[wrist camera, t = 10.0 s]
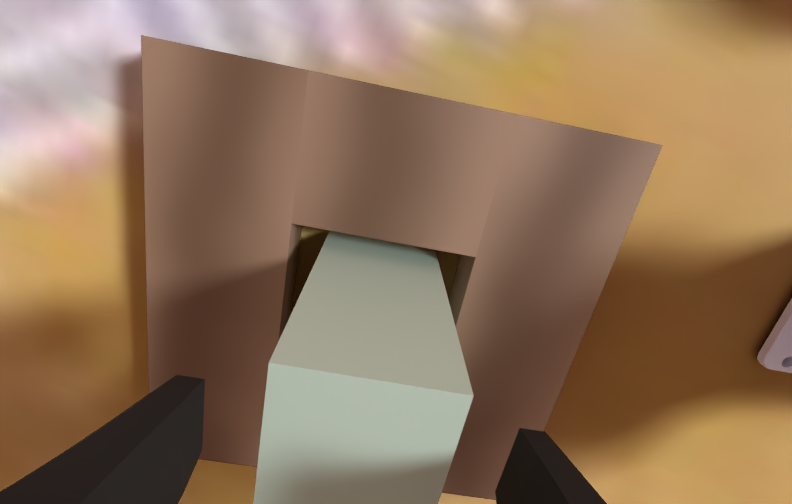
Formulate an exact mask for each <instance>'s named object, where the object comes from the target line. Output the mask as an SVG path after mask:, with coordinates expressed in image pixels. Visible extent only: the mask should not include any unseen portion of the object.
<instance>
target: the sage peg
mask: <svg viewBox="0 0 792 504" xmlns="http://www.w3.org/2000/svg"><path fill="white" fill-rule="evenodd" d="M473 397H474V395H473V391H472V387H471V384H470V380H469V376H468V372H467V368H466V365H465V361H464V357H463V353H462V350H461V346H460V342H459V338H458V334H457V331H456V327H455V323H454V319H453V315H452V312H451V308H450V304H449V300H448V296H447V293H446V289H445V285H444V281H443V277H442V274H441V270H440V266H439V262H438V259H437V255H436V251H435V250H430V249H425V248H420V247H414V246H409V245H404V244H399V243H393V242H388V241H383V240H377V239H372V238H367V237H361V236H356V235H351V234H345V233H340V232H335V231H329V233H328V236H327V238H326V240H325V242H324V244H323V246H322V249H321V251H320V253H319V255H318V257H317V259H316V261H315V264H314V266H313V268H312V270H311V272H310V274H309V277H308V279H307V281H306V283H305V285H304V287H303V290H302V292H301V294H300V296H299V298H298V300H297V303H296V305H295V307H294V309H293V311H292V313H291V316H290V318H289V320H288V322H287V324H286V326H285V329H284V331H283V333H282V335H281V337H280V339H279V341H278V344H277V346H276V348H275V350H274V352H273V354H272V357H271V359H270V361H269V365H268V374H267V383H266V392H265V401H264V410H263V419H262V428H261V437H260V447H259V456H258V465H257V474H256V483H255V492H254V501H253V504H438V502H439V499H440V496H441V493H442V490H443V487H444V484H445V481H446V478H447V475H448V472H449V469H450V466H451V463H452V460H453V457H454V454H455V451H456V448H457V445H458V442H459V439H460V436H461V433H462V430H463V427H464V424H465V421H466V418H467V415H468V412H469V409H470V406H471V403H472V400H473Z"/></svg>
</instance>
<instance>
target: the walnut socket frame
mask: <svg viewBox="0 0 792 504" xmlns="http://www.w3.org/2000/svg"><path fill="white" fill-rule="evenodd" d="M141 50H142V97H143V144H144V191H145V239H146V286H147V333H148V380H149V394H150V393H151V392H152V391H154V390H155V389H157V388H158V387H159V386H161V385H162V384H164V383H165V382H167V381H168V380H170V379H171V378H172V377H174V376H176V375H182V376H189V377H195V378H201V379H205V391H204V417H203V444H202V451H201V453H200V456H199V458H198V459H202V460H209V461H216V462H224V463H231V464H238V465H245V466H253V467H257V465H258V456H259V447H260V437H261V428H262V419H263V410H264V401H265V392H266V383H267V374H268V365H269V361H270V359H271V357H272V354H273V352H274V350H275V348H276V346H277V344H278V341H279V339H280V337H281V335H282V333H283V331H284V329H285V326H286V324H287V322H288V320H289V318H290V316H291V312H292V304H293V296H294V288H295V279H296V271H297V263H298V254H299V246H300V238H301V229H302V226H308V227H313V228H319V229H324V230H330V231H335V232H341V233H346V234H352V235H357V236H363V237H368V238H374V239H379V240H385V241H390V242H396V243H401V244H406V245H412V246H417V247H423V248H428V249H434V250H439V251H445V252H450V253H456V254H461V256H460V260H459V264H458V267H457V271H456V275H455V279H454V282H453V286H452V290H451V293H450V297H449V304H450V308H451V312H452V315H453V319H454V323H455V327H456V331H457V334H458V338H459V342H460V346H461V350H462V353H463V357H464V361H465V365H466V368H467V372H468V376H469V380H470V384H471V387H472V391H473V395H474V397H473V400H472V403H471V406H470V409H469V412H468V415H467V418H466V421H465V424H464V427H463V430H462V433H461V436H460V439H459V442H458V445H457V448H456V451H455V454H454V457H453V460H452V463H451V466H450V469H449V472H448V475H447V478H446V481H445V484H444V487H443V490H442V493H448V494H456V495H463V496H470V497H477V498H485V499H492V500H496V494H495V490H496V488H497V485H498V482H499V480H500V477H501V475H502V472H503V470H504V467H505V464H506V462H507V459H508V457H509V454H510V452H511V449H512V446H513V444H514V441H515V439H516V436H517V433H518V431H519V428H524V429H530V430H537V431H543V432H544V429H545V427H546V425H547V422H548V420H549V417H550V415H551V412H552V410H553V408H554V405H555V403H556V400H557V398H558V396H559V393H560V391H561V388H562V386H563V384H564V381H565V379H566V376H567V374H568V372H569V369H570V367H571V364H572V362H573V360H574V357H575V355H576V352H577V350H578V347H579V345H580V343H581V340H582V338H583V335H584V333H585V331H586V328H587V326H588V323H589V321H590V319H591V316H592V314H593V311H594V309H595V307H596V304H597V302H598V299H599V297H600V295H601V292H602V290H603V287H604V285H605V283H606V280H607V278H608V275H609V273H610V270H611V268H612V266H613V263H614V261H615V258H616V256H617V254H618V251H619V249H620V246H621V244H622V242H623V239H624V237H625V234H626V232H627V230H628V227H629V225H630V222H631V220H632V218H633V215H634V213H635V210H636V208H637V206H638V203H639V201H640V198H641V196H642V193H643V191H644V189H645V186H646V184H647V181H648V179H649V177H650V174H651V172H652V169H653V167H654V165H655V162H656V160H657V157H658V155H659V153H660V150H661V148H662V145H659V144H655V143H650V142H645V141H640V140H636V139H631V138H626V137H621V136H617V135H612V134H607V133H602V132H598V131H593V130H588V129H584V128H579V127H574V126H569V125H565V124H560V123H555V122H550V121H546V120H541V119H536V118H531V117H527V116H522V115H517V114H512V113H508V112H503V111H498V110H493V109H489V108H484V107H479V106H474V105H470V104H465V103H460V102H456V101H451V100H446V99H441V98H437V97H432V96H427V95H422V94H418V93H413V92H408V91H403V90H399V89H394V88H389V87H384V86H380V85H375V84H370V83H365V82H361V81H356V80H351V79H346V78H342V77H337V76H332V75H328V74H323V73H318V72H313V71H309V70H304V69H299V68H294V67H290V66H285V65H280V64H275V63H271V62H266V61H261V60H256V59H252V58H247V57H242V56H237V55H233V54H228V53H223V52H218V51H214V50H209V49H204V48H200V47H195V46H190V45H185V44H181V43H176V42H171V41H166V40H162V39H157V38H152V37H147V36H143V35H141Z"/></svg>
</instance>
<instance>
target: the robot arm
mask: <svg viewBox="0 0 792 504" xmlns="http://www.w3.org/2000/svg"><path fill="white" fill-rule="evenodd" d="M757 359H758V362H759V363H760V364H761V365H763V366H764V367H765V368H767V369H770V370H776V371H782V372H787V373H792V298H791V300H790V302H789V303H788V305H787V307H786V308H785V310H784V312H783V313H782V315H781V317H780V318H779V320H778V322H777V323H776V325H775V327H774V328H773V330H772V332H771V333H770V335H769V337H768V338H767V340H766V342H765V343H764V345H763V347H762V348H761V350H760V352H759V354H758V356H757ZM204 391H205V379H201V378H195V377H189V376H182V375H176V376H174V377H172V378H171V379H170V380H168V381H167V382H165V383H164V384H162V385H161V386H159V387H158V388H157V389H155V390H154V391H152V392H151V393H150V394H148V395H147V396H145V397H144V398H142V399H141V400H140V401H138V402H137V403H135V404H134V405H133V406H131V407H130V408H128V409H127V410H125V411H124V412H123V413H121V414H120V415H118V416H117V417H116V418H114V419H113V420H111V421H110V422H108V423H107V424H105V425H104V426H102V427H101V428H99V429H98V430H96V431H95V432H93V433H92V434H90V435H89V436H88V437H86V438H85V439H83V440H82V441H80V442H79V443H77V444H76V445H74V446H73V447H71V448H70V449H68V450H67V451H65V452H63V453H62V454H60V455H59V456H57V457H55V458H54V459H52V460H51V461H49V462H48V463H46V464H44V465H43V466H41V467H40V468H38V469H36V470H35V471H33V472H32V473H30V474H28V475H27V476H25V477H24V478H22V479H20V480H19V481H17V482H16V483H14V484H12V485H11V486H9V487H7V488H6V489H4V490H2V491H1V492H0V504H178V502H179V500H180V498H181V497H182V494H183V492H184V490H185V488H186V485H187V483H188V481H189V479H190V477H191V474H192V472H193V470H194V467H195V465H196V463H197V460H198V458H199V456H200V453H201V451H202V444H203V417H204ZM495 494H496V502H497V504H607V503H606V502H605V501H604V500H603V499H602V498H601V496H600V495H599V494H598V493H597V492H596V491H595V489H594V488H593V487H592V486H591V485H590V484H589V482H588V481H587V480H586V479H585V478H584V477H583V475H582V474H581V473H580V472H579V471H578V469H577V468H576V467H575V466H574V465H573V464H572V462H571V461H570V460H569V459H568V458H567V456H566V455H565V454H564V453H563V452H562V451H561V449H560V448H559V447H558V446H557V445H556V444H555V442H554V441H553V440H552V439H551V438H550V437H549V436H548V435H547V433H546V432H543V431H537V430H530V429H524V428H519V431H518V433H517V436H516V439H515V441H514V444H513V446H512V449H511V452H510V454H509V457H508V459H507V462H506V464H505V467H504V470H503V472H502V475H501V477H500V480H499V482H498V485H497V488H496V490H495Z"/></svg>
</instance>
